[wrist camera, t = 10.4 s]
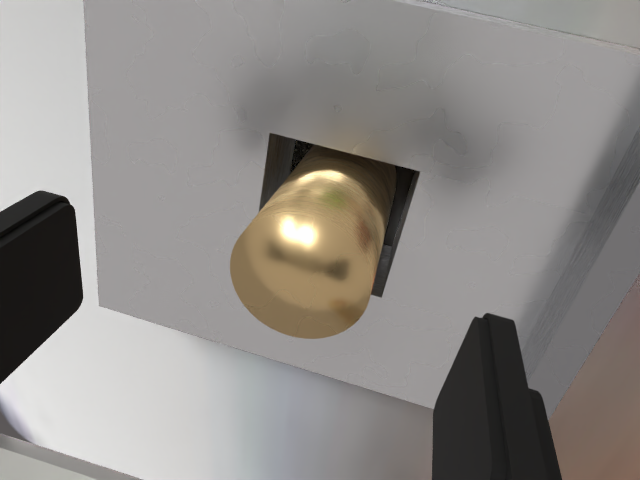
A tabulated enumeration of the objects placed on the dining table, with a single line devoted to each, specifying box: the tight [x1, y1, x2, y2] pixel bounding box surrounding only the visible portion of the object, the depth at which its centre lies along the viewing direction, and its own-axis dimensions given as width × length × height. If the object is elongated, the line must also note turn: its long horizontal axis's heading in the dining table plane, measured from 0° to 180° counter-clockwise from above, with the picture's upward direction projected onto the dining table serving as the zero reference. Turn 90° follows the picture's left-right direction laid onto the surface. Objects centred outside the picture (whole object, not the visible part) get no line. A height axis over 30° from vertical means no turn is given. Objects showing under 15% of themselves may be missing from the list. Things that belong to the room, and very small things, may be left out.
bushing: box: [230, 144, 397, 339], centre depth 17 cm, size 4×4×8 cm
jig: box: [83, 0, 640, 420], centre depth 18 cm, size 14×18×6 cm
